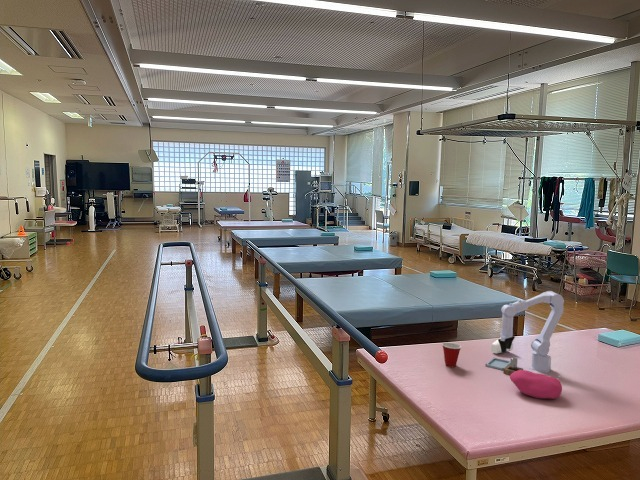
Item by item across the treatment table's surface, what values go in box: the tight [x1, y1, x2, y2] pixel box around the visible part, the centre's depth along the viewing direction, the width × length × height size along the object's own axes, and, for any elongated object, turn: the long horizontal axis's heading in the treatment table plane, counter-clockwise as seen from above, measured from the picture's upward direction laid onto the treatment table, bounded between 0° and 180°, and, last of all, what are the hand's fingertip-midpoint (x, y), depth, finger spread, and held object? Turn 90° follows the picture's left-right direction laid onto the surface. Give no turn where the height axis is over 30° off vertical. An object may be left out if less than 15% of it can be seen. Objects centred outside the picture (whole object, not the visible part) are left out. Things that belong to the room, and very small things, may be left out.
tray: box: [485, 357, 511, 371], centre depth 263 cm, size 10×14×2 cm
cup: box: [490, 336, 514, 355], centre depth 284 cm, size 10×10×11 cm
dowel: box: [509, 356, 518, 371], centre depth 251 cm, size 3×3×8 cm
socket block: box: [502, 365, 524, 376], centre depth 252 cm, size 8×8×3 cm
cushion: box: [509, 369, 563, 400], centre depth 227 cm, size 23×19×10 cm
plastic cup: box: [441, 342, 462, 368], centre depth 263 cm, size 11×11×12 cm
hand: (505, 350), depth 258 cm, fingers open, 7 cm apart
